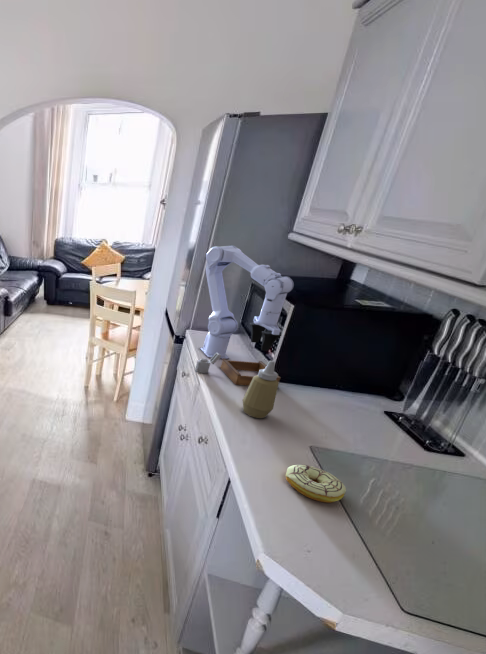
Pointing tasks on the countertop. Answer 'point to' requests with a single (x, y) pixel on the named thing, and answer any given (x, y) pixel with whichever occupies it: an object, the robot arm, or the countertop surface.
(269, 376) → the squeeze bottle
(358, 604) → the countertop surface
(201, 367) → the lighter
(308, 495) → the decorated donut
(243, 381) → the wooden tray
